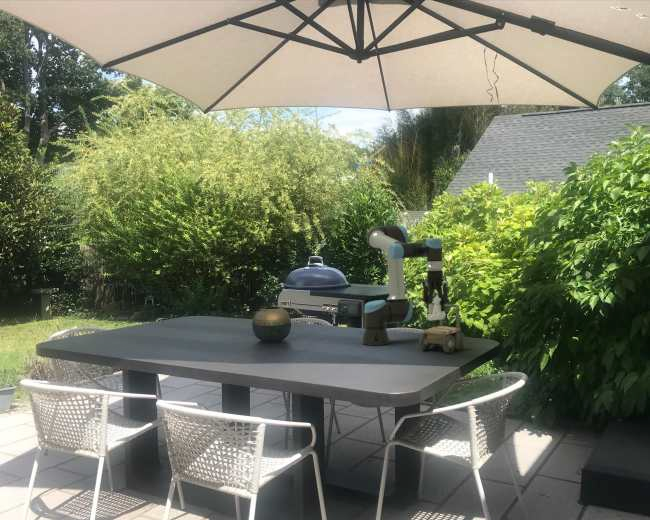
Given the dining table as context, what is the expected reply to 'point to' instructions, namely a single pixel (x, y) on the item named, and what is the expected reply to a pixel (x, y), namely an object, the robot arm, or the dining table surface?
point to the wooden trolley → (443, 335)
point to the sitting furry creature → (436, 310)
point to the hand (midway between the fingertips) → (436, 317)
